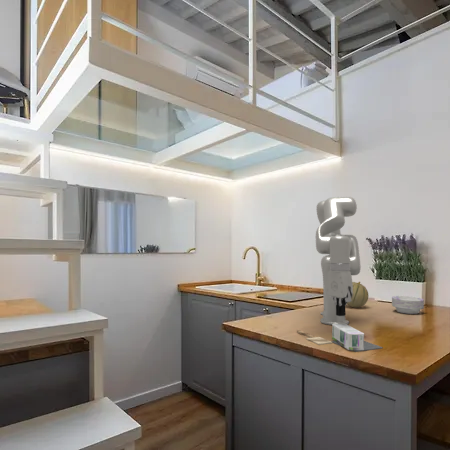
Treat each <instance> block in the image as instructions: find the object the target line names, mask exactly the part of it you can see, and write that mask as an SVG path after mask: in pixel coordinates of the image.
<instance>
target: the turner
mask: <svg viewBox="0 0 450 450" xmlns="http://www.w3.org/2000/svg"><path fill="white" fill-rule="evenodd" d="M296 333H297V334H299V335H302V336H304V337H305V339H306V340H307V341H309V342H311V343H314V344H316V345H319V346H321V345H328V344H333V343H332V342H331V341H332V340H328V339H326V338H323V337H322V336H321V337H320V336H315V335H312V334H310V333H307V332H305V331H302V330H296Z"/></svg>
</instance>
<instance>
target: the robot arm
mask: <svg viewBox="0 0 450 450" xmlns="http://www.w3.org/2000/svg"><path fill="white" fill-rule="evenodd" d="M357 205H358V204H357V201H356V200H355V198H353V197H351V196H340V197H339V196H337V197H336V196H335V197H329V198H327V199H325V200H321V201H319V202H318V203H317V204H316V215H317V219H318V222H319V225H318V227H317V229H316V231H315V247H316V251H317V252H318V254H321V255H324V256H323V257H321V261H320V267H321V272H322V287H323V288H322V289H323V291H322V292H323V293H322V294H323V295H322V296H323V311H321V312H319V313H320V316H322V318H320V323H322V324H324V325H330V326H332V324H347V325H349V323H350V321H349V320H348V319H346V306H348V305H347V302H351V297H352V296H353V284H352V282H353V277H352V276H357V275H359V274H360V272H361V267H362V266H361V257H360V249H359V241H358V239H357V237H356V236H355V235H353V234H342V233H341V229H342V228H343V227H344V226H345V223H346V220H345V217H346V218H349V217H350V218H351V217H352V216H354V215H355V214H356V212H357V209H358V208H357Z"/></svg>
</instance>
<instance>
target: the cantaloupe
mask: <svg viewBox="0 0 450 450" xmlns="http://www.w3.org/2000/svg"><path fill="white" fill-rule="evenodd" d="M352 284H353V296H352V297H351V302H347V305H346V306H349V307H351V308H354V309H355V308H362V307H364V306H365V305H366V304H367V302H368V301H369V291H368V289H367V288H366V286H365V285H363V284H362V283H361V281H358V282H355V281H352Z"/></svg>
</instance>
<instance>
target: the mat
mask: <svg viewBox="0 0 450 450" xmlns="http://www.w3.org/2000/svg"><path fill="white" fill-rule="evenodd" d="M330 341H331V342H332V343H331V344H334V345H337V346H339V347H342V348H345V347H343V346H342V345H340V344H339V343H338V342H336V341H335V340H330ZM345 349H346V348H345ZM381 349H383V347H382V346H379V345H377V344H374V343H372V342H368V341H366V340H364V350H351V351H352V352H355V353H359V352H366V351H372V350H373V351H374V350H381Z"/></svg>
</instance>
